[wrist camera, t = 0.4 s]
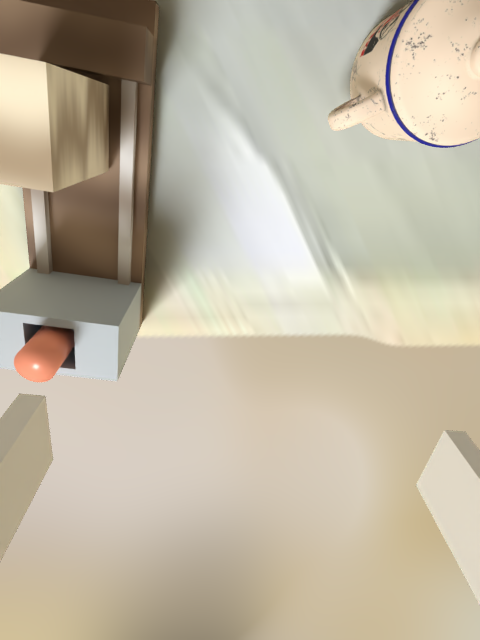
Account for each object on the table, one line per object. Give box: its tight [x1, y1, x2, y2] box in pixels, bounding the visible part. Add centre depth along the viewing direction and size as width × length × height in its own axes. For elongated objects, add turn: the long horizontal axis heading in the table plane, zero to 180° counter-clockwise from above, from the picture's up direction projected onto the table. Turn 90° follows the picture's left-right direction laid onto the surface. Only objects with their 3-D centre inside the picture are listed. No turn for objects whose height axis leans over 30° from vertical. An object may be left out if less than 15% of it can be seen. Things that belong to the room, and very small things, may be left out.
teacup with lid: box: [328, 0, 480, 148], centre depth 25 cm, size 12×9×12 cm
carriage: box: [0, 53, 109, 192], centre depth 24 cm, size 6×4×11 cm, turn 171°
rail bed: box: [0, 0, 159, 329], centre depth 30 cm, size 26×10×4 cm, turn 171°
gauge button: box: [14, 325, 75, 382], centre depth 28 cm, size 3×3×4 cm
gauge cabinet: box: [0, 268, 141, 381], centre depth 33 cm, size 5×10×10 cm, turn 81°
